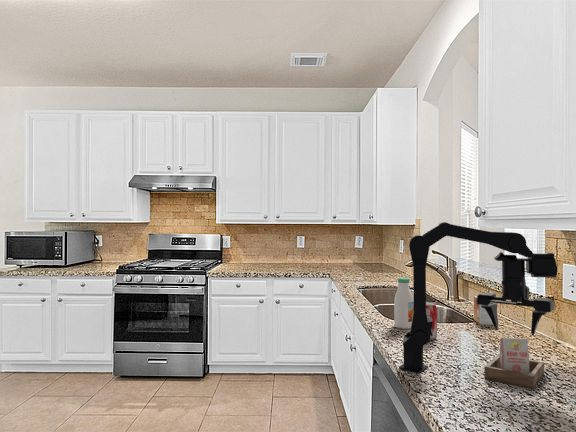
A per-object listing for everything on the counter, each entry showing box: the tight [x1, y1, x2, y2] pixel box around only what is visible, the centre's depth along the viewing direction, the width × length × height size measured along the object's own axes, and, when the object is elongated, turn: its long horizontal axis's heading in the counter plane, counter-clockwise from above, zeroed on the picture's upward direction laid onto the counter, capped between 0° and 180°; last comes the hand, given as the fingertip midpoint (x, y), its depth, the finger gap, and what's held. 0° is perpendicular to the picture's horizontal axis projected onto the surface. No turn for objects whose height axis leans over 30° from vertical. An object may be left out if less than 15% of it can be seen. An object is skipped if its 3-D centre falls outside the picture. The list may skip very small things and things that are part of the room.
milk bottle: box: [393, 277, 414, 330], centre depth 179 cm, size 8×8×20 cm
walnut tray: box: [483, 353, 545, 391], centre depth 122 cm, size 14×12×4 cm
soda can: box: [426, 301, 438, 341], centre depth 162 cm, size 7×7×13 cm
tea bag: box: [499, 337, 530, 374], centre depth 122 cm, size 4×7×10 cm, turn 74°
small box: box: [473, 295, 494, 326], centre depth 185 cm, size 8×6×10 cm
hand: (514, 332), depth 122 cm, fingers open, 9 cm apart
